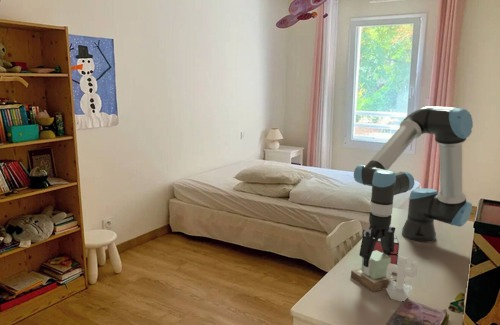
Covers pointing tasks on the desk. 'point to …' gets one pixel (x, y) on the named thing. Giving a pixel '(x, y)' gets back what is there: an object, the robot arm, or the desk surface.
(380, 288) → the walnut plinth
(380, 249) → the puzzle cube
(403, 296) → the figurine
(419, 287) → the desk surface
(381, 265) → the sage cube
